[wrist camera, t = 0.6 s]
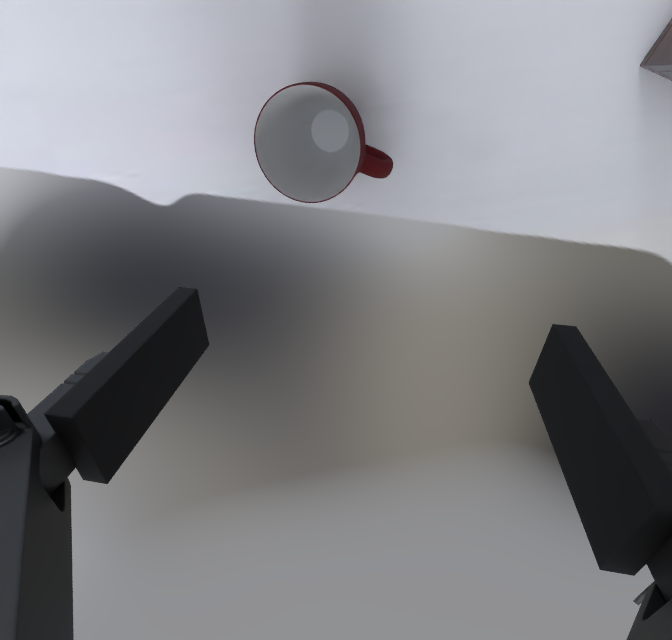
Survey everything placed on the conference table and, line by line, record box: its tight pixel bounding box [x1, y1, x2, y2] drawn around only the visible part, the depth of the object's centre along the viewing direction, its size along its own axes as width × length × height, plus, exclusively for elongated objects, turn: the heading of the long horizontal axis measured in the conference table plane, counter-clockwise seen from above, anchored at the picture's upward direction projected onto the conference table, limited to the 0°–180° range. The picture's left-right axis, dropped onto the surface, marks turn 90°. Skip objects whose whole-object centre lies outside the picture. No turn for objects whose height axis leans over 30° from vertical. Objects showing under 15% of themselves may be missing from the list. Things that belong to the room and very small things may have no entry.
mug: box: [254, 82, 393, 203], centre depth 31 cm, size 11×8×10 cm
